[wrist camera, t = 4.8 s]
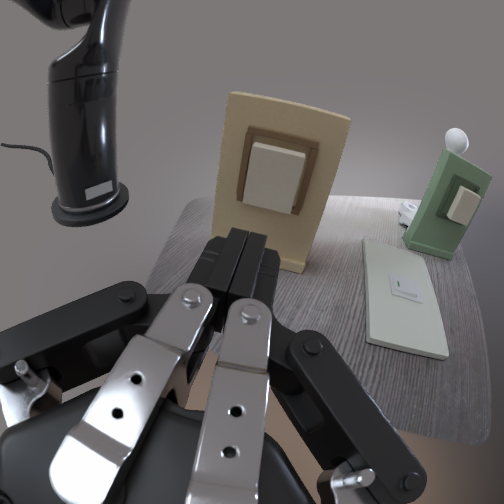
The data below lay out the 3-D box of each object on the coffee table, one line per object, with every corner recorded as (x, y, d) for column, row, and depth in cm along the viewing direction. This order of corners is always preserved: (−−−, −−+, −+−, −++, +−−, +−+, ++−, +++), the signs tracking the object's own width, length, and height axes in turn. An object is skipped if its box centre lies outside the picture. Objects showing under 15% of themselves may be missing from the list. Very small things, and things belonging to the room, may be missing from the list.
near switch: (290, 214, 22) (305, 158, 19) (242, 203, 22) (252, 145, 19) (291, 207, 23) (305, 153, 20) (245, 196, 23) (255, 142, 20)
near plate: (302, 274, 28) (352, 121, 18) (208, 250, 29) (226, 92, 19) (303, 256, 31) (347, 116, 21) (216, 235, 31) (236, 90, 21)
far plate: (451, 260, 37) (494, 178, 27) (407, 248, 36) (452, 153, 26) (444, 249, 39) (484, 170, 29) (401, 237, 39) (441, 146, 29)
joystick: (415, 238, 39) (463, 129, 27) (384, 213, 44) (423, 109, 32) (438, 229, 45) (477, 140, 32) (411, 208, 49) (445, 122, 37)
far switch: (467, 226, 30) (481, 197, 27) (449, 219, 30) (464, 189, 27) (463, 222, 31) (477, 193, 28) (446, 215, 31) (460, 185, 28)
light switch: (452, 354, 20) (371, 335, 21) (445, 360, 21) (365, 342, 22) (424, 255, 33) (364, 233, 35) (421, 261, 34) (361, 240, 35)
